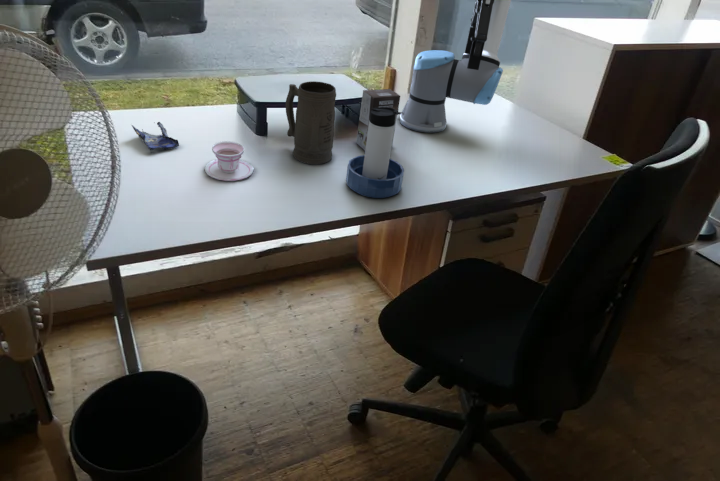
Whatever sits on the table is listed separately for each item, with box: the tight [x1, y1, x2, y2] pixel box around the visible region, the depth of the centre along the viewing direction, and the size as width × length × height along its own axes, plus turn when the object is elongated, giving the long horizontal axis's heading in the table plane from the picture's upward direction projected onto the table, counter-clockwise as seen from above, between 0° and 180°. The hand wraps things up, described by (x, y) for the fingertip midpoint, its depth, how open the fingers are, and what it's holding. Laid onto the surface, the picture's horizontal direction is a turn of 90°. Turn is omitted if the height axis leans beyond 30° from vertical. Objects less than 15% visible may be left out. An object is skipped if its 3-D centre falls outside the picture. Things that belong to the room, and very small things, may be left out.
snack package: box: [131, 121, 180, 154], centre depth 149 cm, size 12×6×12 cm
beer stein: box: [285, 80, 337, 165], centre depth 151 cm, size 15×11×20 cm
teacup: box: [204, 140, 254, 182], centre depth 141 cm, size 12×12×6 cm
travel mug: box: [362, 107, 399, 179], centre depth 139 cm, size 6×7×20 cm
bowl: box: [345, 154, 405, 199], centre depth 143 cm, size 14×14×6 cm
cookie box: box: [355, 88, 401, 151], centre depth 162 cm, size 9×6×16 cm
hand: (471, 61), depth 140 cm, fingers open, 13 cm apart
